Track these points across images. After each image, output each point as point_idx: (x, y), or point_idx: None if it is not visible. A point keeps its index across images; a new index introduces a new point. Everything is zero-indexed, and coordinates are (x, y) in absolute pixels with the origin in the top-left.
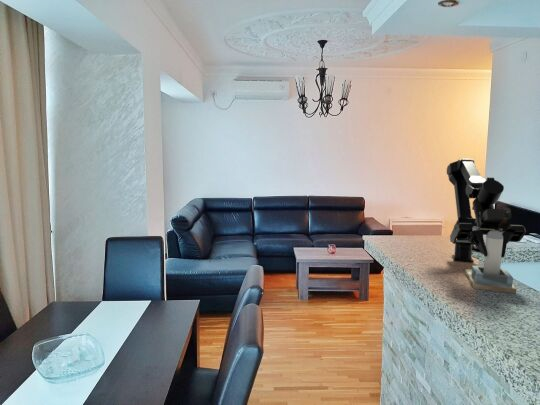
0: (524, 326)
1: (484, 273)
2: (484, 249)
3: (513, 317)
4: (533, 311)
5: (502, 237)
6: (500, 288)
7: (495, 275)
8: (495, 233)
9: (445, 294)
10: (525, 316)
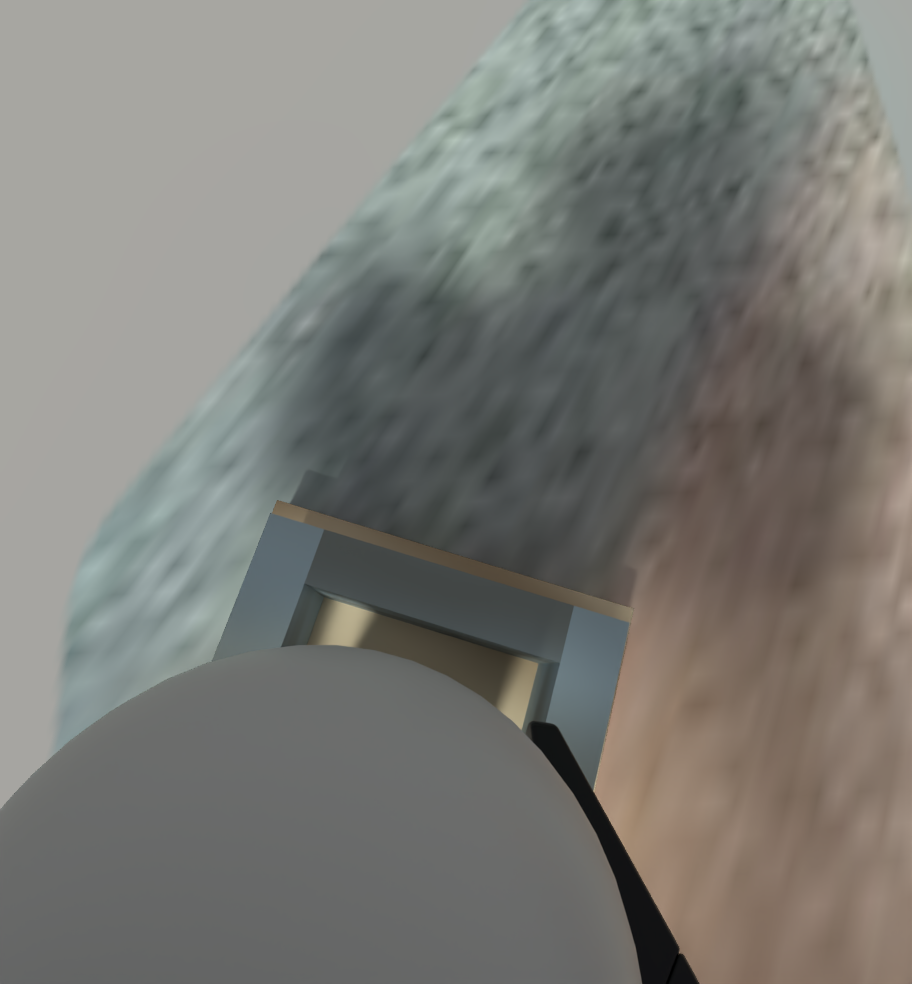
0: (583, 6)
1: (531, 653)
2: (587, 811)
3: (582, 99)
4: (396, 176)
5: (93, 727)
6: (405, 542)
7: (436, 578)
8: (392, 789)
9: (907, 455)
10: (499, 111)
